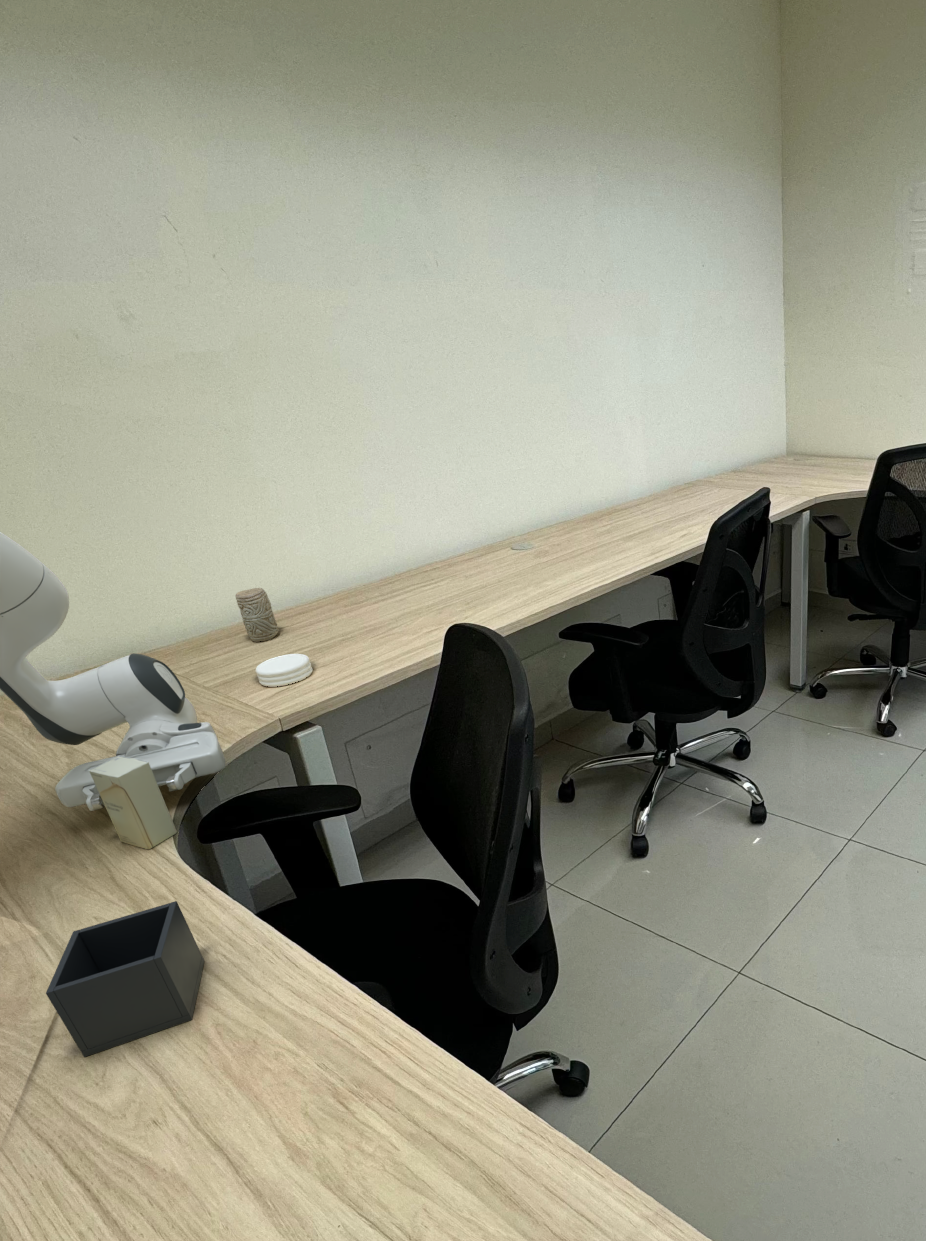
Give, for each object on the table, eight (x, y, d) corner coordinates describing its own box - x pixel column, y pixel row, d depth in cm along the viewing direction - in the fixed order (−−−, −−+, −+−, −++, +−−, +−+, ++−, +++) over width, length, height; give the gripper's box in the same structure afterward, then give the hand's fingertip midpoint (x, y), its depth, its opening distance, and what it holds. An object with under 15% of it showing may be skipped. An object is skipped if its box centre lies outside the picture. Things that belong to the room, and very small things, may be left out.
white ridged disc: (310, 663, 165) (306, 648, 164) (315, 678, 158) (311, 663, 156) (258, 676, 160) (253, 661, 159) (261, 692, 153) (255, 676, 151)
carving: (245, 645, 178) (228, 597, 173) (256, 634, 184) (240, 587, 179) (274, 641, 179) (258, 594, 174) (284, 630, 185) (269, 584, 180)
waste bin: (83, 1057, 75) (45, 993, 71) (106, 992, 83) (72, 931, 79) (192, 1020, 79) (160, 956, 75) (204, 960, 86) (176, 900, 82)
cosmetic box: (120, 842, 108) (85, 770, 103) (151, 824, 112) (118, 754, 107) (150, 850, 106) (115, 777, 101) (180, 831, 110) (148, 760, 105)
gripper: (63, 753, 114) (33, 798, 102) (220, 719, 121) (209, 757, 110) (80, 788, 116) (53, 836, 105) (233, 753, 124) (223, 793, 113)
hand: (134, 795), depth 107 cm, fingers open, 8 cm apart
